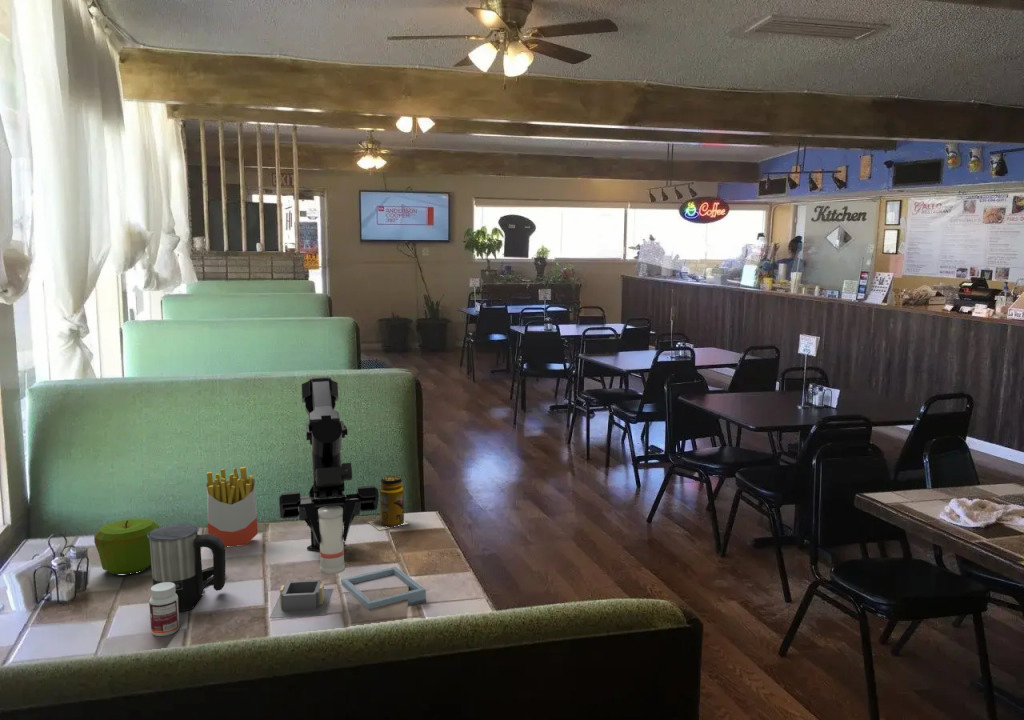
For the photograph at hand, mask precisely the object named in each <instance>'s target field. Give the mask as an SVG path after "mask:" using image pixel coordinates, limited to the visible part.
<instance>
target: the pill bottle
mask: <svg viewBox="0 0 1024 720" xmlns="http://www.w3.org/2000/svg"><path fill="white" fill-rule="evenodd" d="M175 592H176V589H175V584H174V583H172V582H163V583H158V584H156V585H154V586H153V585H152V586H151V588H150V596H151V597H150V599H149V601H148V602H149V605H148V606H149V616H150V629H151V634H152V635H153V636H155V637H156V636H157V637H167V636H170V635H172V634H175V633H176V632H178V631H179V629H180V627H181V624H180V623H181V621H180V612H179V604H178V595H177V594H176V593H175Z"/></svg>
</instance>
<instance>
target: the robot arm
mask: <svg viewBox="0 0 1024 720" xmlns="http://www.w3.org/2000/svg"><path fill="white" fill-rule="evenodd" d="M338 401H339V383H338V381H335V380H332V377H329V376H318V377H317V376H314V377H311V378H310V377H309V378H308V380H307V381H306V382H303V383H301V403H303V404H304V407H305V412H306V414H307V415H308V422H306V423H305V435H306V436H305V438H306V441H309V444H310V445H311V462H312V464H311V465H312V481H313V482H312V483H313V484H312V486H311V488H310V489H309V494H308V495H305V496H301V491H291V492H282V493H281V494H280V495H279V496H278V497H279V498H278V499H279V500H278V501H279V502H278V503H279V515H280V516H279V517H280V518H281V519H294V518H299V521H305V523H306V526H307V527H309V529H310V545H308V546H307V547H306V549H307V550H309V551H316V552H320V532H319V517H318V509H319V508H321V507H325V506H341V507H342V508H343V544H344V545H346V542H347V539H348V538H347V537H348V534H349V533H350V532H349V531H350V528H351V525H352V523H353V520H354V518H355V516H356V517H357V516H360V514H361V512H370V511H371V512H372V511H376V510H378V507H379V500H380V493H379V489H378V487H377V486H376V485H366V486H365V485H364V486H357V488H356V490H357V491H356V493H352V494H351V493H350V494H345V493H344V492H345V482H347V481H352V480H353V471H352V462H343V463H342V453H341V450H342V444H343V443H342V439H345V438H346V436H347V435H348V428H347V425H346V424H345V423H344V420H341V417H340V413H339V411H337V410H336V402H338Z"/></svg>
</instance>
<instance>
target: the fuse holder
mask: <svg viewBox="0 0 1024 720" xmlns="http://www.w3.org/2000/svg"><path fill="white" fill-rule="evenodd" d="M333 591H334V588H325V583H324V582H323V581H321V579H311V580H310V579H307V580H289V581H288V582H286V583H285V584H282V585H281V586H280V589H279V597H278V598H277V601H276V603H275V605H274V607H273V609H272V611H271V613H270V616H269V619H280V618H282V619H284V618H300V617H318V616H326V614H327V611H328V606H329V603H330V601H331V597H332V594H333Z"/></svg>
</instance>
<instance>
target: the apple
mask: <svg viewBox="0 0 1024 720" xmlns="http://www.w3.org/2000/svg"><path fill="white" fill-rule="evenodd" d="M158 528H160V525H159V524H158V523H157V522H156V521H155V520H154V519H151V518H146V517H143V518H137V517H136V518H128V519H122V520H117V521H113V522H108V523H106V524H104V525H102V526H100V527H99V529H98V530H97V531H96V532H95V533H94V539H93V540H94V541H93V542H94V545H95V547H96V550H97V552H98V556H99V560H100V564H101V568H102V569H103V570H104V571H106V572H108V573H110V574H112V575H114V574H130V573H136V572H139V571H142V570H144V569H146V568H147V569H148V568H149V567H150V566H152V565H151V552H150V540H149V538H148V537H147V534H148V533H149V532H151V531H153V530H155V529H158ZM147 569H146V570H147ZM144 571H145V570H144ZM142 572H143V571H142ZM136 574H137V573H136Z"/></svg>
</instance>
